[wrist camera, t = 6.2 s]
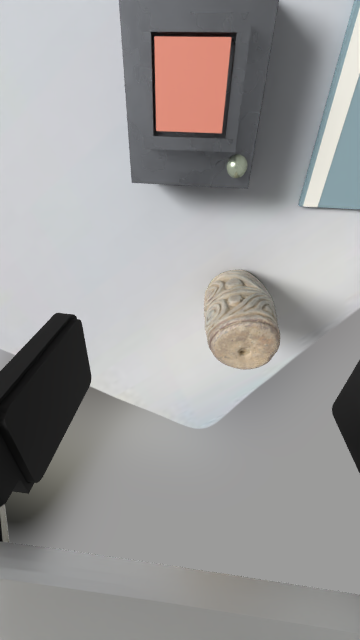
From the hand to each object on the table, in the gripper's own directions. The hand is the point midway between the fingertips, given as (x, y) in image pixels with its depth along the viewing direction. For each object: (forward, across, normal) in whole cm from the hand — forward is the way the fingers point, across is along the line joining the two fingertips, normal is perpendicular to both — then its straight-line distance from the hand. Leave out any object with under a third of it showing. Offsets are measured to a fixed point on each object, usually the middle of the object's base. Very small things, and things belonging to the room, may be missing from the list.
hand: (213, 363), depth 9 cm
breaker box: (+23, +3, -10) cm, 25 cm away
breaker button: (+18, +3, -9) cm, 20 cm away
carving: (+24, -4, +8) cm, 25 cm away
